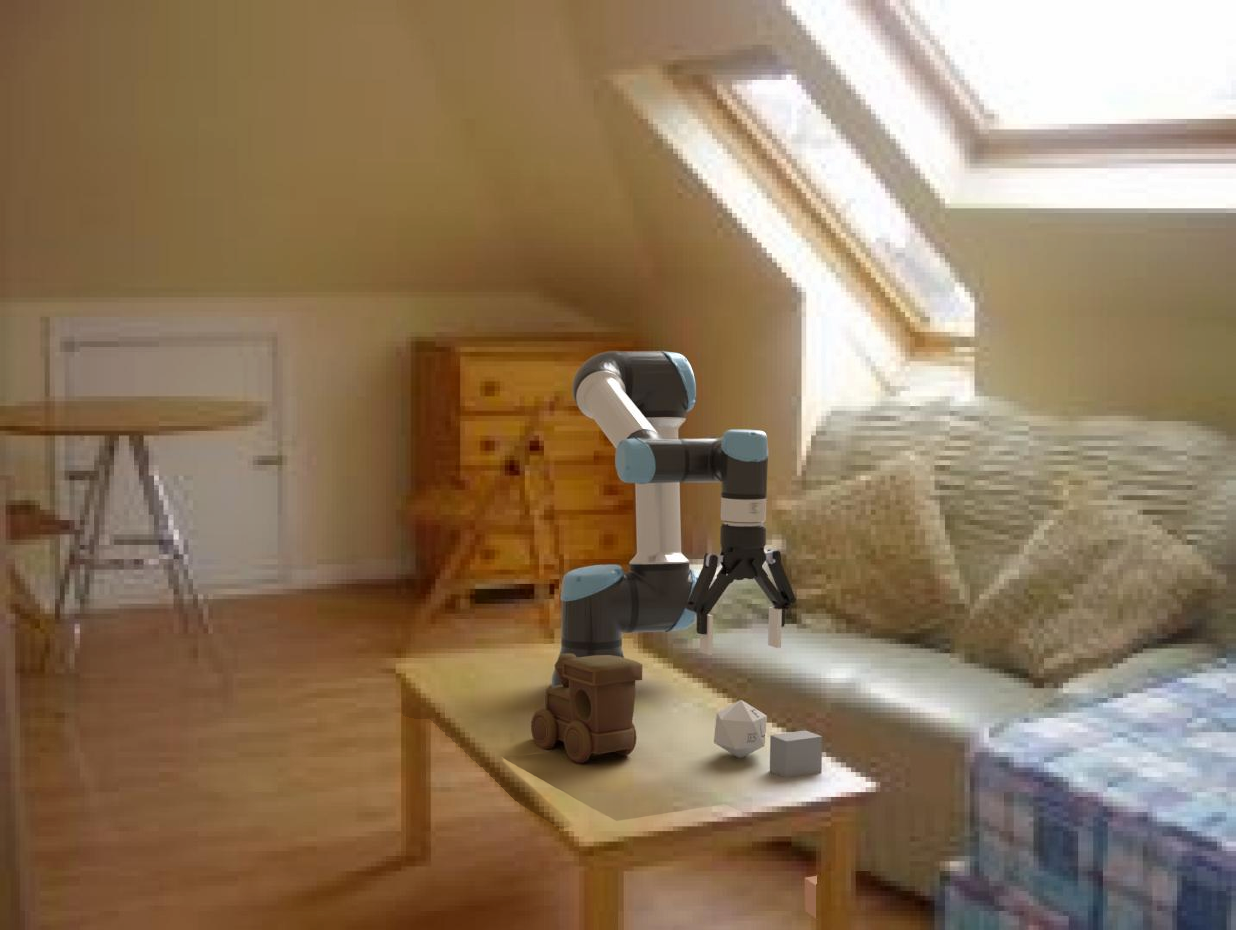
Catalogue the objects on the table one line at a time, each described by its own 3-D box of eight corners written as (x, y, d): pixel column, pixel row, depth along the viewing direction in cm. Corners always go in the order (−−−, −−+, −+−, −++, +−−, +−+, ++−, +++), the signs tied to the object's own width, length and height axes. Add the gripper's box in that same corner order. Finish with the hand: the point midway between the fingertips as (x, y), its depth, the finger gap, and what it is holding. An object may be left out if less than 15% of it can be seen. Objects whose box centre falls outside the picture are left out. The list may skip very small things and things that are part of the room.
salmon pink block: (840, 904, 269) (839, 872, 269) (852, 913, 265) (852, 880, 264) (805, 910, 267) (804, 877, 266) (817, 919, 262) (816, 886, 262)
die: (752, 768, 245) (753, 707, 245) (704, 760, 250) (704, 701, 250) (775, 757, 253) (776, 698, 252) (728, 749, 257) (728, 691, 257)
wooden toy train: (646, 761, 249) (647, 662, 248) (589, 771, 243) (590, 669, 242) (579, 736, 266) (580, 643, 265) (524, 745, 259) (525, 649, 258)
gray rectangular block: (769, 771, 244) (770, 735, 243) (805, 766, 247) (805, 730, 247) (785, 778, 240) (786, 741, 239) (821, 773, 243) (822, 736, 243)
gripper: (690, 529, 240) (688, 660, 241) (818, 522, 252) (815, 647, 253) (666, 524, 246) (664, 652, 248) (792, 517, 258) (789, 639, 260)
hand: (740, 650), depth 251 cm, fingers open, 13 cm apart
